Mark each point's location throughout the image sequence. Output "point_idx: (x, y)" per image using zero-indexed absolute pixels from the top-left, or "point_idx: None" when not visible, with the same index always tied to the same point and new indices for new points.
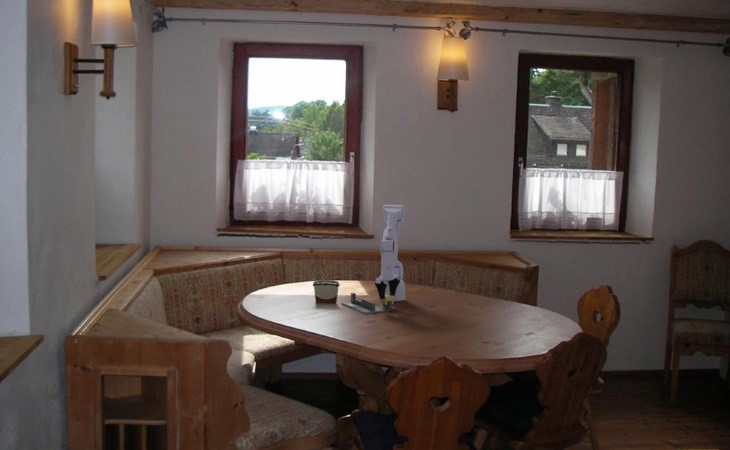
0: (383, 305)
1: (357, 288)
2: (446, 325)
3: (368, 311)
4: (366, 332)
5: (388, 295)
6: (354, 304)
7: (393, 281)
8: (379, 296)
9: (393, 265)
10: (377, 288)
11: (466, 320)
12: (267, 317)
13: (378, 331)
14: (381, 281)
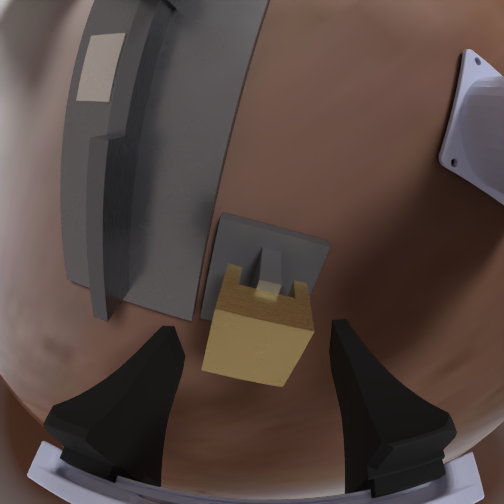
0: (260, 255)
1: None
2: (233, 468)
3: (86, 278)
4: (29, 379)
5: (260, 360)
6: (116, 63)
7: (356, 477)
8: (152, 337)
9: None
10: (98, 391)
11: (314, 470)
12: None
13: (54, 396)
14: (102, 484)
